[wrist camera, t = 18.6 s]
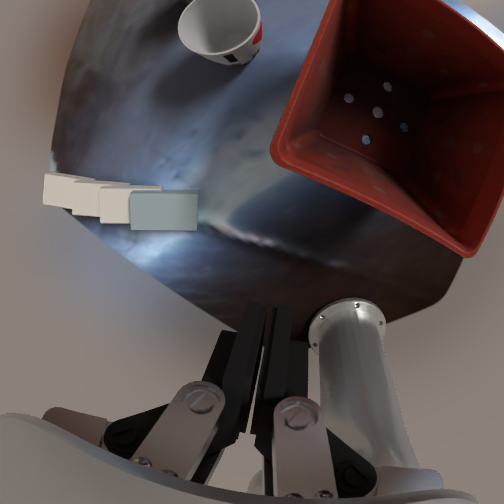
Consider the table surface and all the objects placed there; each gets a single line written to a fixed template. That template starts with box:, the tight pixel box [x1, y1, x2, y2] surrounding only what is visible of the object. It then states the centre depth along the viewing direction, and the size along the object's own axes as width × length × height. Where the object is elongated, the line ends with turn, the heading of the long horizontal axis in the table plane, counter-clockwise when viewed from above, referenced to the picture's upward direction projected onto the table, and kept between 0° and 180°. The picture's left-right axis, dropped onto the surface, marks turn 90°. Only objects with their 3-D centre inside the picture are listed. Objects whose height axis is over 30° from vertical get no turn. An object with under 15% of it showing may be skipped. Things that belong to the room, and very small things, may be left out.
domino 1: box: [43, 172, 96, 209], centre depth 37 cm, size 5×2×9 cm
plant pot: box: [270, 0, 504, 258], centre depth 22 cm, size 19×19×17 cm
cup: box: [178, 0, 263, 66], centre depth 24 cm, size 8×8×10 cm
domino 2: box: [72, 180, 131, 217], centre depth 37 cm, size 5×2×9 cm
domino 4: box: [130, 190, 199, 231], centre depth 36 cm, size 5×2×9 cm
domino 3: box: [99, 185, 163, 224], centre depth 36 cm, size 5×2×9 cm
